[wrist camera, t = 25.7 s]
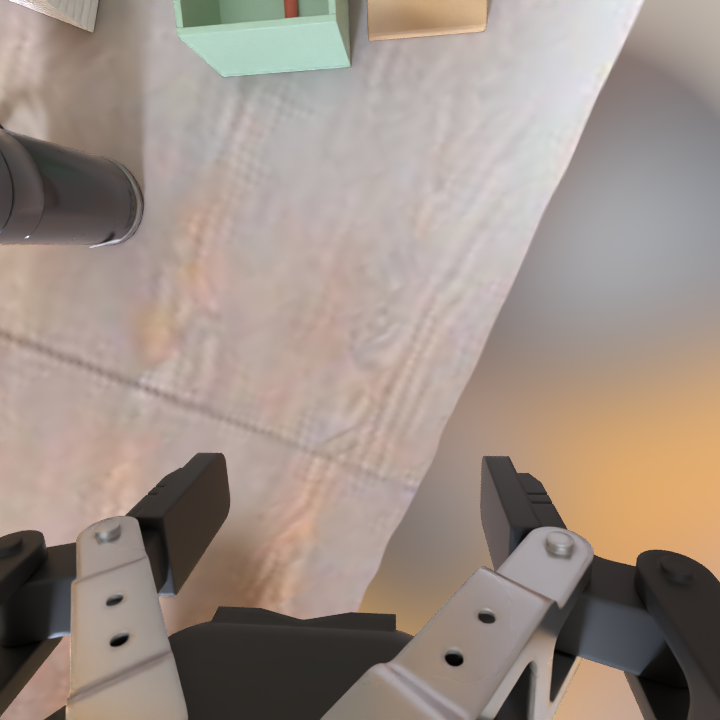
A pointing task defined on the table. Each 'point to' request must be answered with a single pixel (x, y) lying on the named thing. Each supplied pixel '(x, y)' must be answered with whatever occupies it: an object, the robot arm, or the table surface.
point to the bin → (265, 35)
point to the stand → (424, 18)
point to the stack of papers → (66, 11)
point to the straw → (291, 8)
